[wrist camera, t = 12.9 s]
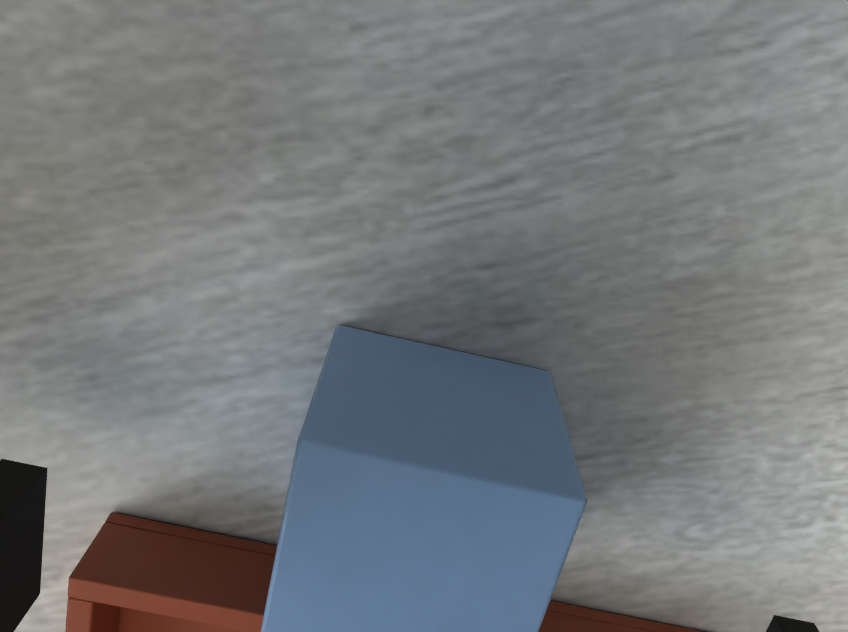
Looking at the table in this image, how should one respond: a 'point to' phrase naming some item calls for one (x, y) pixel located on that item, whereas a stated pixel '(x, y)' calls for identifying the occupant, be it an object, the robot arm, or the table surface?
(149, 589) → the clay tray
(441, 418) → the blue block
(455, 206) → the table surface
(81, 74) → the table surface
